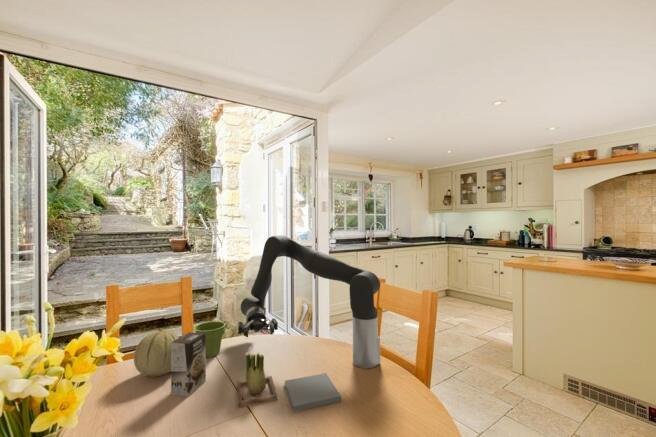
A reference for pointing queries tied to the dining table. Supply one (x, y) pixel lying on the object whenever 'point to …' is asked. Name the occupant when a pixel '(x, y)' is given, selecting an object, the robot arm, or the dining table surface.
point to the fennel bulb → (255, 374)
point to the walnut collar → (259, 399)
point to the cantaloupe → (154, 354)
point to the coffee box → (188, 363)
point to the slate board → (311, 391)
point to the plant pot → (211, 336)
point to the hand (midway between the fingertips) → (259, 333)
